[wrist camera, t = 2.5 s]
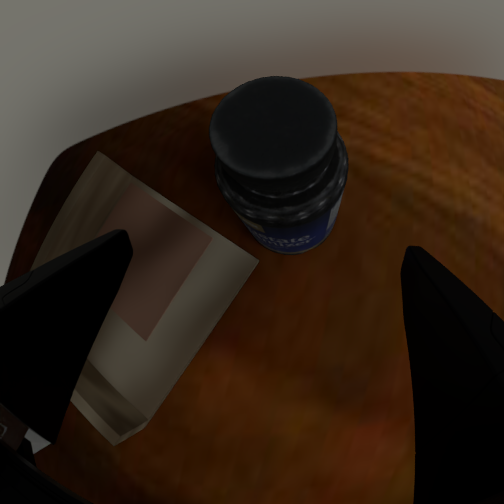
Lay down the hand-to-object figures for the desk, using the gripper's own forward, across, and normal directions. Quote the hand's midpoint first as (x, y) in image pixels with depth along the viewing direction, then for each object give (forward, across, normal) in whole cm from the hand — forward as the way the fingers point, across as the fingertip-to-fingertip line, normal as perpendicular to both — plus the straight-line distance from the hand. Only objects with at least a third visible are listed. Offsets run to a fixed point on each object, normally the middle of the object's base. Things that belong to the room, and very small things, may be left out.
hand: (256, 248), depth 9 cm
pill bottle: (+11, 0, +5) cm, 12 cm away
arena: (+6, +12, +10) cm, 17 cm away
